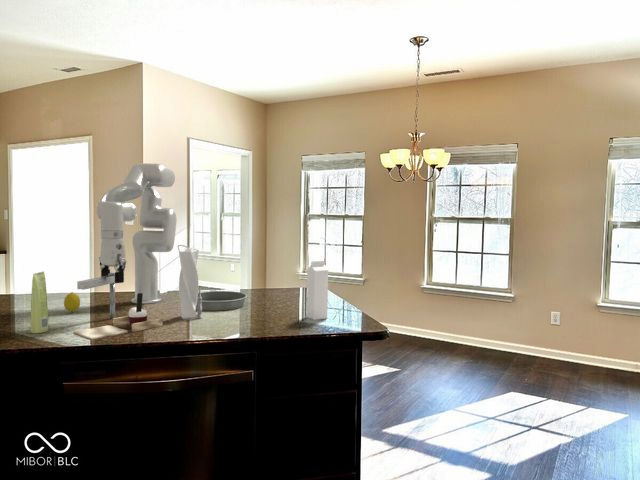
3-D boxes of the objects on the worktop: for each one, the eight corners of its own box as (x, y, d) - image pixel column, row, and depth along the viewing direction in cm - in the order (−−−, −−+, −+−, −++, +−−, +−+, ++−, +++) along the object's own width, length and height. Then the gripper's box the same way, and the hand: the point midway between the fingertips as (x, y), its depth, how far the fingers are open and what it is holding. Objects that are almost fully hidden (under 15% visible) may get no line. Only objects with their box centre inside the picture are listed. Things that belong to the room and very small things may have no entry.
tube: (27, 331, 150) (26, 272, 149) (44, 328, 153) (44, 270, 152) (34, 334, 146) (33, 273, 145) (51, 331, 150) (50, 272, 149)
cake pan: (177, 308, 192) (177, 297, 192) (211, 298, 215) (212, 289, 215) (226, 313, 183) (227, 302, 183) (257, 303, 206) (257, 293, 205)
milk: (327, 318, 176) (328, 261, 175) (313, 320, 173) (315, 262, 172) (319, 315, 182) (321, 260, 180) (306, 316, 179) (307, 260, 177)
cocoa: (132, 324, 164) (131, 290, 164) (150, 323, 165) (149, 289, 165) (124, 329, 154) (123, 294, 154) (144, 328, 155) (143, 293, 155)
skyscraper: (179, 321, 169) (179, 245, 168) (175, 316, 176) (175, 244, 175) (202, 319, 173) (202, 245, 171) (197, 314, 180) (198, 244, 179)
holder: (141, 320, 168) (141, 313, 168) (162, 325, 160) (162, 318, 160) (112, 325, 159) (112, 318, 159) (133, 331, 152) (133, 324, 151)
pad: (109, 326, 158) (109, 325, 158) (128, 332, 151) (128, 330, 151) (73, 333, 148) (73, 331, 148) (91, 339, 141) (91, 338, 141)
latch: (113, 316, 173) (112, 272, 172) (119, 317, 172) (119, 272, 171) (77, 329, 154) (76, 279, 153) (84, 329, 153) (84, 279, 152)
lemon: (73, 314, 176) (73, 293, 175) (60, 313, 177) (60, 293, 176) (83, 311, 181) (83, 291, 181) (71, 310, 182) (71, 290, 182)
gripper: (134, 236, 166) (134, 282, 167) (109, 234, 177) (110, 278, 178) (114, 236, 160) (114, 285, 161) (90, 234, 171) (90, 280, 172)
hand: (112, 281), depth 170 cm, fingers open, 9 cm apart
